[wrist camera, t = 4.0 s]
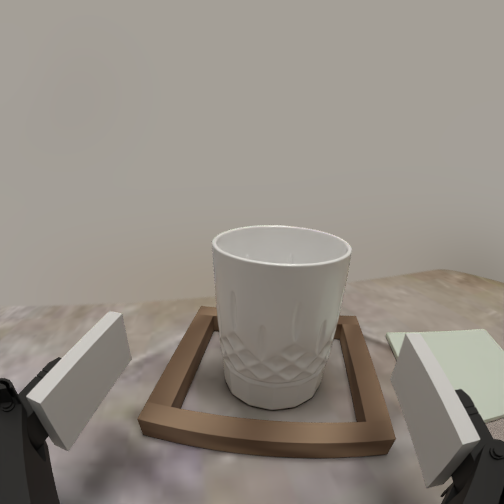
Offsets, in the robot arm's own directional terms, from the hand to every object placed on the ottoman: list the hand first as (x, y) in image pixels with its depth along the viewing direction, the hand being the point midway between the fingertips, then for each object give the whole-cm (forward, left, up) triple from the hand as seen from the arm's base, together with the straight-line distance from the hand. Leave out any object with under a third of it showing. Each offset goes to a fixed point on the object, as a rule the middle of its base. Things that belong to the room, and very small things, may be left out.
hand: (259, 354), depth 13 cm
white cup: (-1, -6, -7) cm, 9 cm away
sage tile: (-17, -6, -6) cm, 19 cm away
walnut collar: (-1, -6, -6) cm, 9 cm away
